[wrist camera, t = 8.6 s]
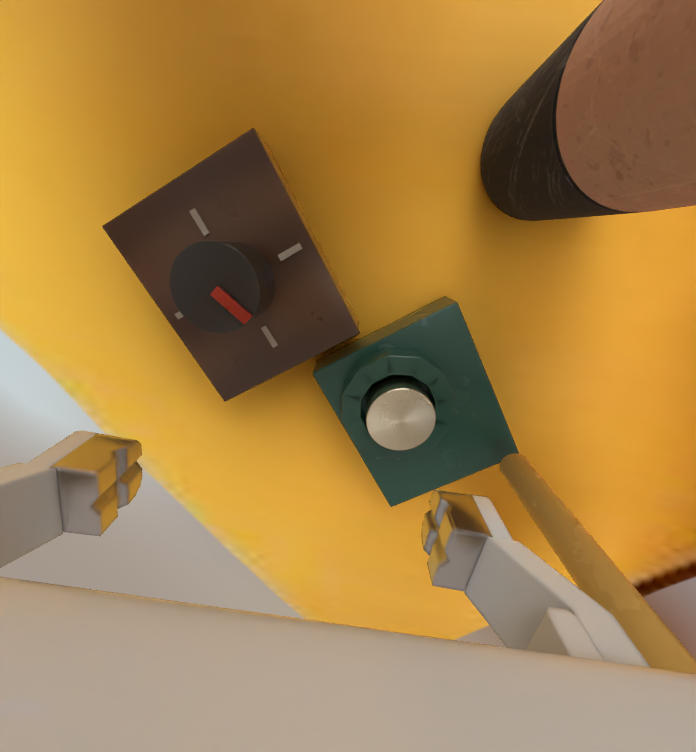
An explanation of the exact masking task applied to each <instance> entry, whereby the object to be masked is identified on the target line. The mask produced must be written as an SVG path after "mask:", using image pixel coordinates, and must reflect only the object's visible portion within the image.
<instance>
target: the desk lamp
mask: <svg viewBox="0 0 696 752" xmlns="http://www.w3.org/2000/svg"><path fill="white" fill-rule="evenodd" d="M499 468H500V471H501V473H502V474H503V476H504V477H505V479H506V480H507V482H508V483H509V485H510V486H511V488H512V489H513V491H514V492H515V494H516V495H517V497H518V498H519V500H520V501H521V503H522V504H523V506H524V507H525V509H526V510H527V512H528V513H529V515H530V516H531V517H532V519H533V520H534V522H535V523H536V525H537V526H538V528H539V529H540V531H541V532H542V534H543V535H544V537H545V538H546V540H547V541H548V543H549V544H550V546H551V547H552V549H553V550H554V552H555V553H556V555H557V556H558V558H559V559H560V561H561V562H562V564H563V565H564V566H565V568H566V569H567V571H568V572H569V574H570V575H571V577H572V578H573V580H574V581H575V583H576V584H577V586H578V587H579V589H580V590H582V591H583V592H584V593H586V594H587V595H588V596H589V597H591V598H592V599H593V600H595V601H596V602H597V603H598V604H600V605H601V606H602V607H603V608H605V609H606V610H607V611H609V612H610V613H611V614H612V615H613V616H614V617H615V618H616V620H617V621H618V623H619V624H620V625H621V627H622V628H623V630H624V631H625V632H626V634H627V635H628V637H629V638H630V639H631V641H632V642H633V644H634V645H635V646H636V648H637V649H638V651H639V652H640V653H641V655H642V656H643V658H644V659H645V660H646V662H647V663H648V665H649V666H650V667H651V668H657V669H664V670H672V671H679V672H686V673H693V674H696V660H695V659H694V658H693V657H692V655H691V654H690V653H689V652H688V651H687V649H686V648H685V647H684V646H683V645H682V644H681V642H680V641H679V640H678V639H677V638H676V637H675V635H674V634H673V633H672V632H671V630H670V629H669V628H668V627H667V626H666V624H665V623H664V622H663V621H662V620H661V618H660V617H659V616H658V615H657V614H656V613H655V611H654V610H653V609H652V608H651V607H650V605H649V604H648V603H647V602H646V601H645V599H644V598H643V597H642V596H641V595H640V593H639V592H638V591H637V590H636V589H635V587H634V586H633V585H632V584H631V583H630V581H629V580H628V579H627V578H626V577H625V576H624V574H623V573H622V572H621V571H620V570H619V568H618V567H617V566H616V565H615V564H614V562H613V561H612V560H611V559H610V558H609V556H608V555H607V554H606V553H605V552H604V550H603V549H602V548H601V547H600V546H599V545H598V543H597V542H596V541H595V540H594V539H593V537H592V536H591V535H590V534H589V533H588V531H587V530H586V529H585V528H584V527H583V525H582V524H581V523H580V522H579V521H578V519H577V518H576V517H575V516H574V515H573V514H572V512H571V511H570V510H569V509H568V508H567V506H566V505H565V504H564V503H563V502H562V500H561V499H560V498H559V497H558V496H557V494H556V493H555V492H554V491H553V490H552V488H551V487H550V486H549V485H548V484H547V483H546V481H545V480H544V479H543V478H542V477H541V475H540V474H539V473H538V472H537V471H536V469H535V468H534V467H533V466H532V465H531V463H530V462H529V461H528V460H527V459H526V457H525V456H523V455H521V454H518V453H513V454H509V455H507V456H505V457H504V458H503V459H502V460H501V462H500V466H499Z"/></svg>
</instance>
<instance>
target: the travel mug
mask: <svg viewBox="0 0 696 752" xmlns="http://www.w3.org/2000/svg"><path fill="white" fill-rule="evenodd" d="M481 174H482V179H483V183H484V186H485V189H486V191H487V193H488V195H489V197H490V199H491V200H492V202H493V203H494V204H495V205H496V206H497V207H498V208H499V209H500V210H501V211H503V212H504V213H506V214H508V215H509V216H511V217H514V218H517V219H521V220H529V221H539V220H553V219H565V218H577V217H590V216H602V215H614V214H626V213H638V212H648V211H656V210H664V209H671V208H678V207H686V206H693V205H696V0H603V1H602V2H601V3H600V4H599V5H598V6H597V8H596V9H595V10H594V11H593V12H592V13H591V14H590V15H589V16H588V17H587V18H586V19H585V20H584V21H583V22H582V23H581V24H580V25H579V26H578V27H577V28H576V30H575V31H574V32H573V33H572V34H571V35H570V36H569V37H568V38H567V39H566V40H565V41H564V42H563V43H562V44H561V45H560V46H559V47H558V48H557V49H556V50H555V51H554V53H553V54H552V55H551V56H550V57H549V58H548V59H547V60H546V61H545V62H544V63H543V64H542V65H541V66H540V67H539V68H538V69H537V70H536V71H535V72H534V73H533V74H532V76H531V77H530V78H529V79H528V80H527V81H526V82H525V83H524V84H523V85H522V86H521V87H520V88H519V89H518V90H517V91H516V92H515V93H514V95H513V96H512V97H511V98H510V99H509V100H508V101H507V102H506V103H505V105H504V106H503V107H502V108H501V109H500V111H499V112H498V114H497V115H496V117H495V118H494V120H493V122H492V123H491V125H490V127H489V129H488V132H487V134H486V137H485V141H484V144H483V148H482V154H481Z"/></svg>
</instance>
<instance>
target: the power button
mask: <svg viewBox="0 0 696 752" xmlns="http://www.w3.org/2000/svg"><path fill="white" fill-rule="evenodd" d="M365 415H366V424H367V429H368V432H369V434H370V435H371V437H372V438H373V439H374V440H375V441H376V442H377V443H378V444H380V445H381V446H383V447H385V448H388V449H392V450H407V449H411V448H414V447H416V446H418V445H420V444H421V443H423V442H424V441H425V440H426V439H427V438H428V437H429V436H430V434H431V433H432V431H433V429H434V426H435V421H436V414H435V409H434V407H433V405H432V403H431V401H430V399H429V397H428V395H427V393H426V392H425V390H424V389H423V388H422V387H421V386H420V385H419V384H417V383H416V382H414V381H412V380H409V379H405V378H393V379H388V380H386V381H383V382H381V383H380V384H378V385H377V386H376V387H375V388H374V389H373V390H372V391H371V392H370V394H369V395H368V397H367V400H366V404H365Z"/></svg>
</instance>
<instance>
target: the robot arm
mask: <svg viewBox="0 0 696 752" xmlns="http://www.w3.org/2000/svg"><path fill="white" fill-rule="evenodd" d="M141 455H142V448H141V443H140V442H139V441H137V440H132V439H126V438H121V437H116V436H110V435H105V434H98V433H93V432H87V431H76V432H74V433H73V434H71V435H69V436H68V437H66V438H65V439H63V440H62V441H60V442H59V443H57V444H56V445H54V446H53V447H51V448H49V449H48V450H46V451H45V452H43V453H42V454H40V455H39V456H37V457H36V458H34V459H33V460H31V461H29V462H28V463H26V464H23V463H17V464H13V465H10V466H5V467H2V468H0V568H1V567H3V566H4V565H6V564H8V563H10V562H12V561H14V560H16V559H17V558H19V557H21V556H23V555H25V554H27V553H29V552H30V551H32V550H34V549H36V548H38V547H40V546H41V545H43V544H45V543H47V542H49V541H51V540H53V539H54V538H56V537H58V536H60V535H61V534H63V532H68V533H76V534H85V535H94V536H101V535H102V533H103V532H104V531H105V530H106V529H107V528H108V527H109V526H110V524H111V523H112V522H113V521H114V520H115V519H116V518H117V517H118V514H117V513H118V511H117V509H119V508H121V507H123V506H125V505H127V504H129V503H130V502H131V500H132V499H133V498H134V497H135V495H136V493H137V491H138V489H139V487H140V484H141V480H142V468H141V467H140V465H139V464H138V463H137V459H138V458H139V457H140V456H141ZM429 502H430V506H431V510H430V511H428V512H427V513H426V514H425V516H424V520H423V523H422V532H421V536H422V544H423V549H424V550H425V551H426V552H427V553H428V555H429V559H428V562H427V565H428V569H429V573H430V577H431V581H432V585H433V586H437V587H443V588H449V589H454V590H460V591H465V594H466V596H467V597H468V598H469V599H470V601H471V602H472V603H473V605H474V606H475V607H476V608H477V610H478V611H479V612H480V613H481V615H482V616H483V617H484V619H485V620H486V621H487V622H488V624H489V625H490V626H491V627H492V629H493V630H494V631H495V633H496V634H497V635H498V636H499V637H500V639H501V640H502V641H503V643H504V644H505V645H506V646H507V647H500V646H493V645H485V644H477V643H470V642H463V641H456V640H449V639H442V638H434V637H427V636H420V635H413V634H406V633H398V632H391V631H384V630H377V629H370V628H363V627H356V626H349V625H342V624H335V623H328V622H321V621H314V620H307V619H300V618H293V617H285V616H278V615H271V614H263V613H256V612H249V611H242V610H234V609H228V608H220V607H213V606H205V605H199V604H191V603H185V602H177V601H170V600H163V599H155V598H149V597H141V596H134V595H127V594H119V593H113V592H106V591H98V590H91V589H84V588H77V587H70V586H63V585H55V584H48V583H41V582H34V581H27V580H20V579H12V578H5V577H0V752H696V674H693V673H686V672H679V671H672V670H664V669H657V668H651V667H650V666H649V665H648V663H647V662H646V660H645V659H644V658H643V656H642V655H641V653H640V652H639V651H638V649H637V648H636V646H635V645H634V644H633V642H632V641H631V639H630V638H629V637H628V635H627V634H626V632H625V631H624V630H623V628H622V627H621V625H620V624H619V623H618V621H617V620H616V618H615V617H614V616H613V615H612V614H611V613H610V612H609V611H607V610H606V609H605V608H603V607H602V606H601V605H600V604H598V603H597V602H596V601H595V600H593V599H592V598H591V597H589V596H588V595H587V594H586V593H584V592H583V591H582V590H580V589H579V588H578V587H577V586H575V585H574V584H573V583H571V582H570V581H569V580H568V579H566V578H565V577H564V576H563V575H561V574H560V573H559V572H557V571H556V570H555V569H554V568H552V567H551V566H550V565H548V564H547V563H546V562H545V561H543V560H542V559H541V558H539V557H538V556H537V555H536V554H534V553H533V552H532V551H531V550H529V549H528V548H527V547H525V546H524V545H523V544H522V543H520V542H519V541H513V539H512V537H511V535H510V534H509V532H508V530H507V528H506V527H505V525H504V523H503V521H502V519H501V518H500V516H499V514H498V512H497V511H496V509H495V507H494V505H493V504H492V502H491V500H490V499H489V498H487V497H484V496H477V495H466V494H459V493H453V492H446V491H440V490H434V491H433V493H432V495H431V498H430V501H429Z"/></svg>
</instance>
